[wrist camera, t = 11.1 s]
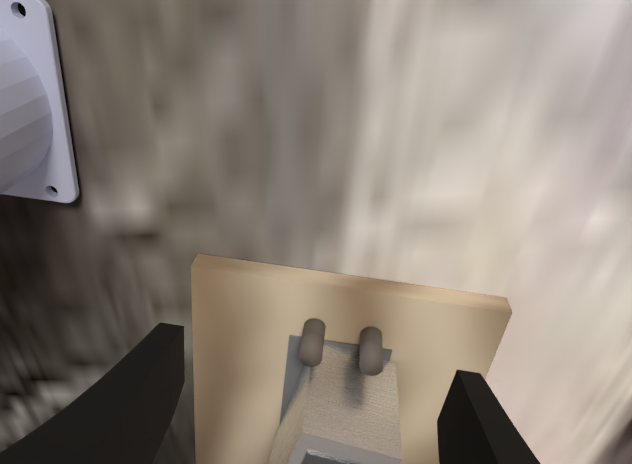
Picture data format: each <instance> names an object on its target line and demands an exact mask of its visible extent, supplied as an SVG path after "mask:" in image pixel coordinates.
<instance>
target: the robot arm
mask: <svg viewBox="0 0 632 464" xmlns="http://www.w3.org/2000/svg"><path fill="white" fill-rule="evenodd" d="M18 3H21V4H22V5H23V6H24V8H25V10H26V16H23V15H22V14H21V13H20V12H19V10H18ZM51 186H53V187H54V188H56V189H57V192H58V193H56V192H54V191H53V190H52V189H51ZM1 194H5V195H12V196H19V197H26V198H33V199H40V200H47V201H54V202H61V203H71V202H73V201H74V200H75V199H77V197H78V196H79V187H78V180H77V174H76V167H75V160H74V154H73V147H72V141H71V134H70V127H69V121H68V114H67V107H66V101H65V94H64V88H63V81H62V74H61V68H60V61H59V55H58V48H57V41H56V35H55V28H54V22H53V15H52V11H51V8H50V6H49V4H48V3H47V2H46V1H45V0H0V195H1ZM183 384H184V326H179V325H172V324H166V323H160V324H158V325H157V326H156V327H155V328H154V329H153V330H152V331H151V332H150V333H149V334H148V335H147V336H146V337H145V338H144V339H143V340H142V341H141V342H140V343H139V344H138V345H137V346H136V347H134V348H133V349H132V350H131V351H130V352H129V353H128V354H127V355H126V356H125V357H124V358H123V359H122V360H121V361H120V362H119V363H117V364H116V365H115V366H114V367H113V368H112V369H111V370H110V371H109V372H107V373H106V374H105V375H104V376H103V377H102V378H101V379H100V380H98V381H97V382H96V383H95V384H94V385H93V386H91V387H90V388H89V389H88V390H86V391H85V392H84V393H83V394H82V395H80V396H79V397H78V398H77V399H75V400H74V401H73V402H72V403H71V404H69V405H68V406H67V407H65V408H64V409H63V410H62V411H60V412H59V413H58V414H56V415H55V416H54V417H52V418H51V419H50V420H48V421H47V422H45V423H44V424H43V425H41V426H40V427H38V428H37V429H36V430H34V431H33V432H31V433H30V434H28V435H27V436H25V437H24V438H22V439H21V440H19V441H18V442H16V443H15V444H13V445H12V446H10V447H9V448H7V449H5V450H4V451H2V452H1V453H0V464H151V463H152V461H153V459H154V457H155V455H156V453H157V450H158V448H159V446H160V444H161V442H162V440H163V437H164V435H165V433H166V431H167V429H168V426H169V424H170V422H171V420H172V417H173V414H174V412H175V409H176V406H177V403H178V400H179V397H180V393H181V390H182V387H183ZM437 435H438V452H439V463H440V464H540V462H539V461H538V460H537V458H536V457H535V456H534V454H533V453H532V451H531V450H530V448H529V447H528V445H527V444H526V443H525V441H524V440H523V438H522V437H521V435H520V434H519V432H518V431H517V429H516V428H515V426H514V425H513V423H512V422H511V420H510V419H509V417H508V416H507V414H506V413H505V411H504V409H503V408H502V406H501V405H500V403H499V402H498V400H497V398H496V397H495V395H494V394H493V392H492V390H491V389H490V387H489V386H488V384H487V382H486V381H485V379H484V378H483V376H482V375H481V373H476V372H470V371H464V370H457V371H456V373H455V376H454V378H453V381H452V384H451V386H450V389H449V391H448V394H447V396H446V399H445V402H444V404H443V407H442V409H441V412H440V414H439V417H438V420H437Z"/></svg>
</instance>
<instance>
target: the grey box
mask: <svg viewBox="0 0 632 464" xmlns="http://www.w3.org/2000/svg"><path fill="white" fill-rule="evenodd" d="M359 365H360V353H358V352H355V351H351V350H348V349H344V348H341V347H337V346H334V345H330V344H327V343H324V346H323V356H322V362H321V363H320V364H319V365H318V366H315V367H308V366H305V365H304V367H303V369H302V372H301V374H300V376H299V379H298V381H297V384H296V386H295V389H294V391H293V394H292V396H291V399H290V401H289V404H288V406H287V408H286V411H285V413H284V416H283V418H282V421H281V423H280V426H279V428H278V431H277V433H276V436H275V438H274V441H273V443H272V448H271V454H270V459H269V464H400V462H401V461H402V448H401V433H400V419H399V404H398V389H397V375H396V363H393V362H389V361H386V360H383V371H382V372H381V373H380V374H378V375H375V376H369V375H365V374H364V373H362V372H361V370H360V367H359Z"/></svg>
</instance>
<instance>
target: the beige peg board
mask: <svg viewBox="0 0 632 464" xmlns="http://www.w3.org/2000/svg"><path fill="white" fill-rule="evenodd" d="M191 290H192V332H193V374H194V416H195V458H196V464H269V459H270V454H271V448H272V443H273V441H274V438H275V436H276V433H277V431H278V428H279V426H280V423H281V421H282V418H283V416H284V413H285V411H286V408H287V406H288V404H289V401H290V399H291V396H292V394H293V391H294V389H295V386H296V384H297V381H298V379H299V376H300V374H301V372H302V369H303V367H304V365H305V366H308V367H315V366H318V365H319V364H320V363H321V362H322V356H323V346H324V343H327V344H330V345H334V346H337V347H341V348H344V349H348V350H351V351H355V352H358V353H360V365H359V367H360V370H361V372H362V373H364V374H365V375H369V376H375V375H378V374H380V373H381V372H382V371H383V360H386V361H389V362H393V363H396V375H397V389H398V404H399V419H400V433H401V448H402V461H401V462H400V464H440V463H439V452H438V435H437V420H438V417H439V414H440V412H441V409H442V407H443V404H444V402H445V399H446V396H447V394H448V391H449V389H450V386H451V384H452V381H453V378H454V376H455V373H456V371H457V370H464V371H470V372H476V373H481V375H482V376H483V378H484V379H485V378H486V375H487V373H488V371H489V368H490V366H491V363H492V361H493V358H494V356H495V353H496V351H497V349H498V346H499V344H500V341H501V339H502V336H503V334H504V331H505V329H506V326H507V324H508V322H509V319H510V317H511V314H512V310H511V308H510V305H509V303H508V300H507V298H503V297H496V296H489V295H482V294H475V293H468V292H461V291H454V290H448V289H441V288H434V287H427V286H420V285H413V284H406V283H399V282H392V281H385V280H378V279H371V278H364V277H357V276H350V275H343V274H336V273H329V272H322V271H315V270H308V269H301V268H294V267H287V266H280V265H273V264H266V263H260V262H253V261H246V260H239V259H232V258H225V257H218V256H211V255H204V254H197V256H196V258H195V260H194V261H193V263H192V265H191Z"/></svg>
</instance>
